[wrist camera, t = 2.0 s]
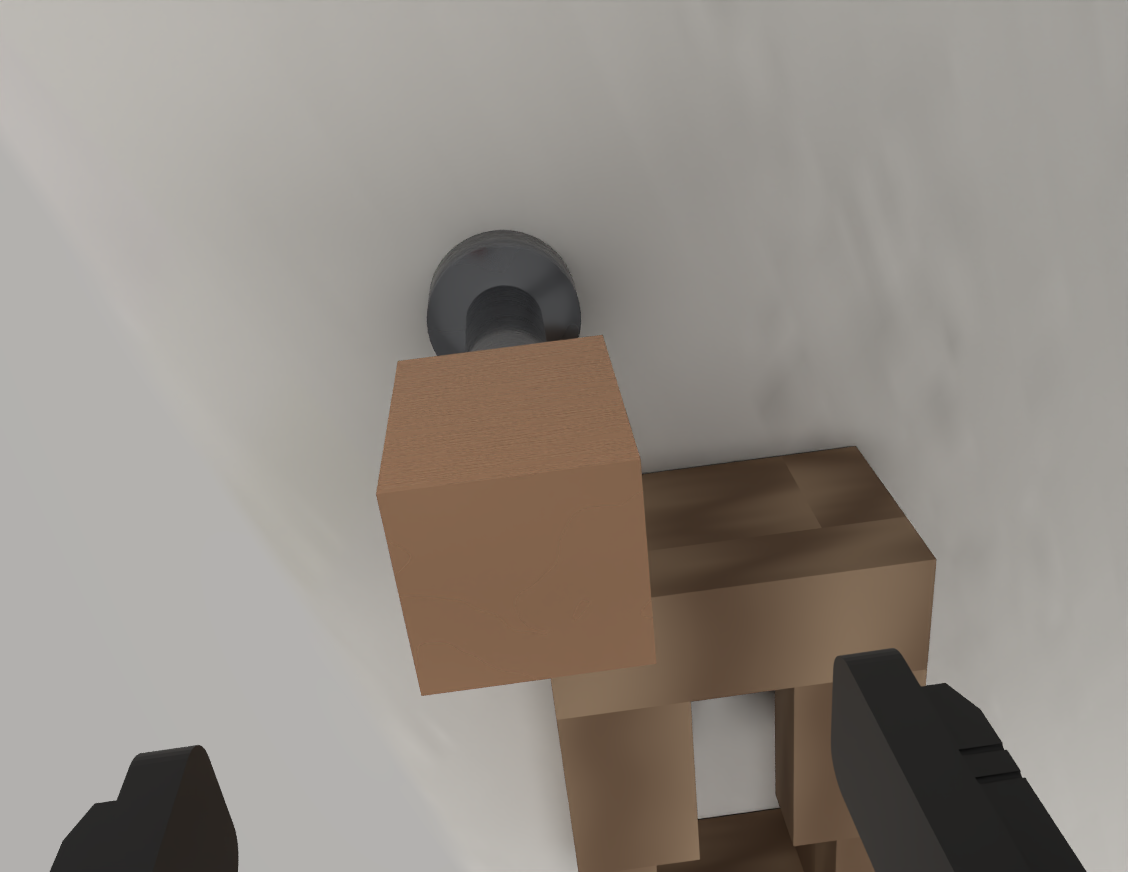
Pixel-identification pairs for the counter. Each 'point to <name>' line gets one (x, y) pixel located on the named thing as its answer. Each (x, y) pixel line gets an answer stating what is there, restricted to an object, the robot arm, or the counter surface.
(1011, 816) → the robot arm
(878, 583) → the keyhole block
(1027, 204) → the counter surface
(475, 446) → the brown square-topped part
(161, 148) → the counter surface
